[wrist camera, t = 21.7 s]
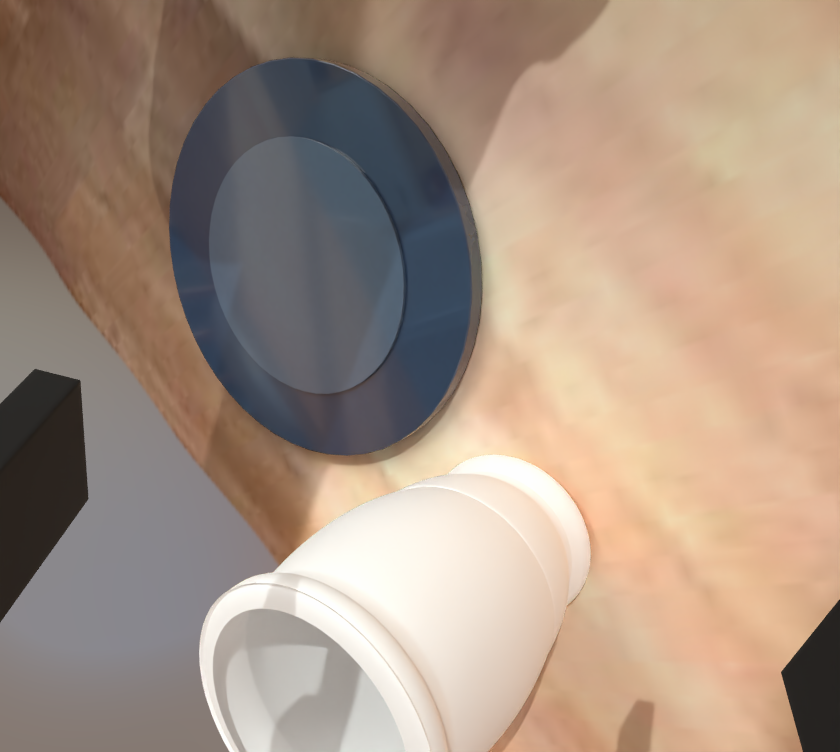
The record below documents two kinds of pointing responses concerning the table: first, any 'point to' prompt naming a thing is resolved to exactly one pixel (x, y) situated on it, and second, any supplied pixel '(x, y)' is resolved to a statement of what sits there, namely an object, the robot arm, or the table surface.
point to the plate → (325, 255)
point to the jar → (401, 619)
